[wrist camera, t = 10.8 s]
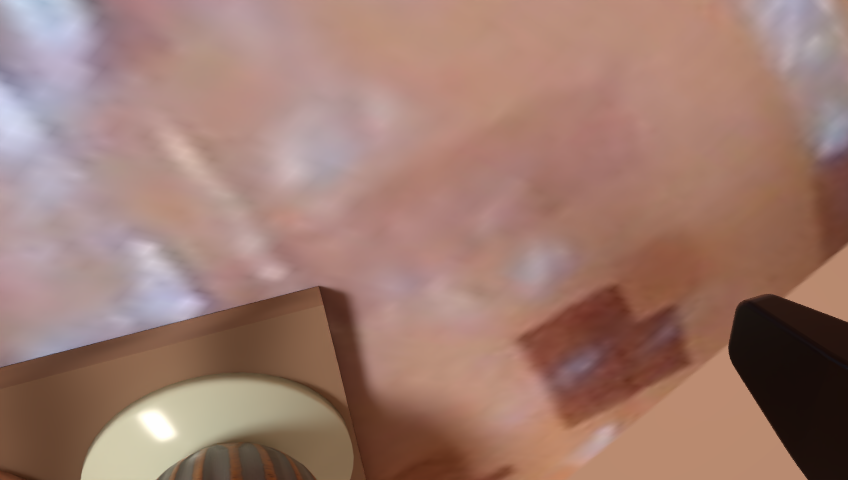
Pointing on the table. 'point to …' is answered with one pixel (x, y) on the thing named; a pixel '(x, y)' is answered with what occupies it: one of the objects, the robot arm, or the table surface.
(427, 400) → the table surface
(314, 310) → the board
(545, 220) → the table surface
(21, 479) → the terracotta disc
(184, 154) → the table surface
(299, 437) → the cream disc
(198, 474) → the vase
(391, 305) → the table surface
